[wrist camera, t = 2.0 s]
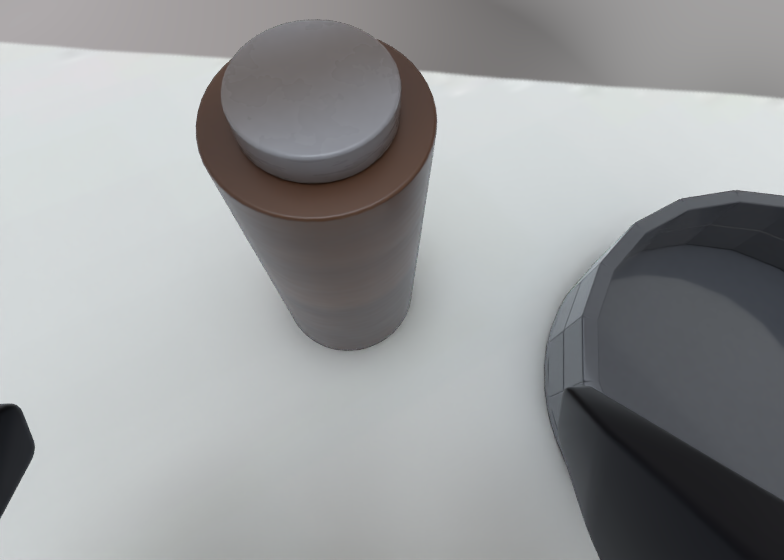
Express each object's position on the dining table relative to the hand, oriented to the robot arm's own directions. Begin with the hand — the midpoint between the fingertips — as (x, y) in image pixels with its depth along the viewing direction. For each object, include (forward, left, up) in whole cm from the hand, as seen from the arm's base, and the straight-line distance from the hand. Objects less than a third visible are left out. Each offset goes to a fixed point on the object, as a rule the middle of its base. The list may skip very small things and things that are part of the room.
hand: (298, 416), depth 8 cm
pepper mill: (+6, -3, -13) cm, 15 cm away
